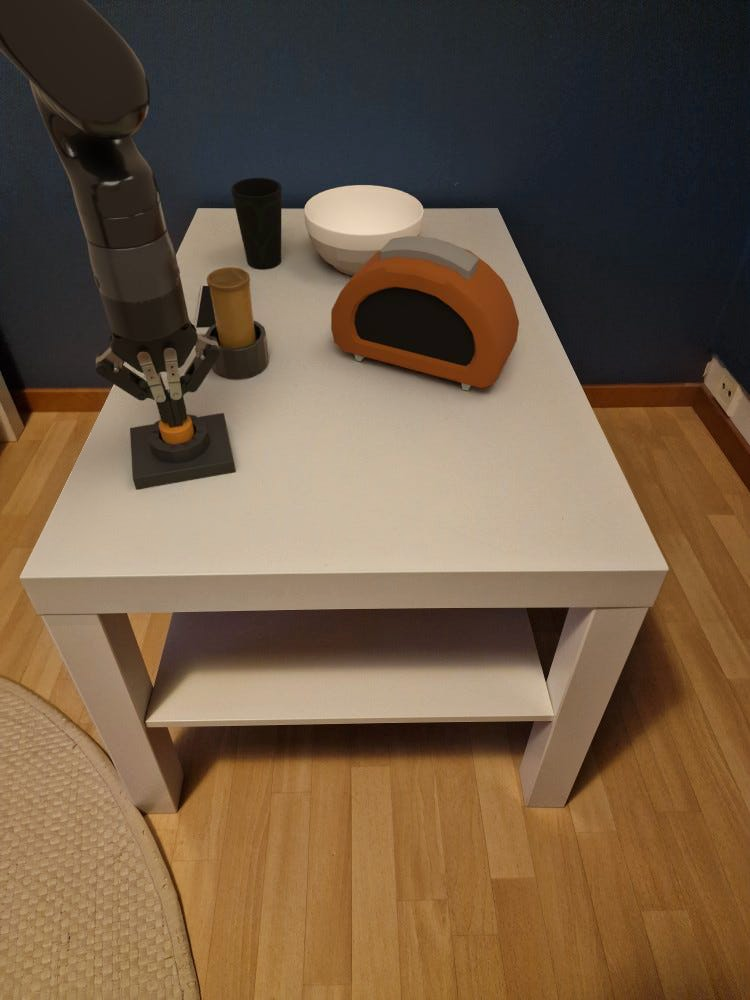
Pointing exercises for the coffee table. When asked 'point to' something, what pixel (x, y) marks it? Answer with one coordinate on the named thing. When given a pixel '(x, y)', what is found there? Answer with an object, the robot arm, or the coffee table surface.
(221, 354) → the pod chamber
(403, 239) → the alarm clock
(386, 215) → the bowl
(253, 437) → the coffee table surface
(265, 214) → the cup
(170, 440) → the button
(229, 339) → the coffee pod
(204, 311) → the smartphone
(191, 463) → the push button panel
